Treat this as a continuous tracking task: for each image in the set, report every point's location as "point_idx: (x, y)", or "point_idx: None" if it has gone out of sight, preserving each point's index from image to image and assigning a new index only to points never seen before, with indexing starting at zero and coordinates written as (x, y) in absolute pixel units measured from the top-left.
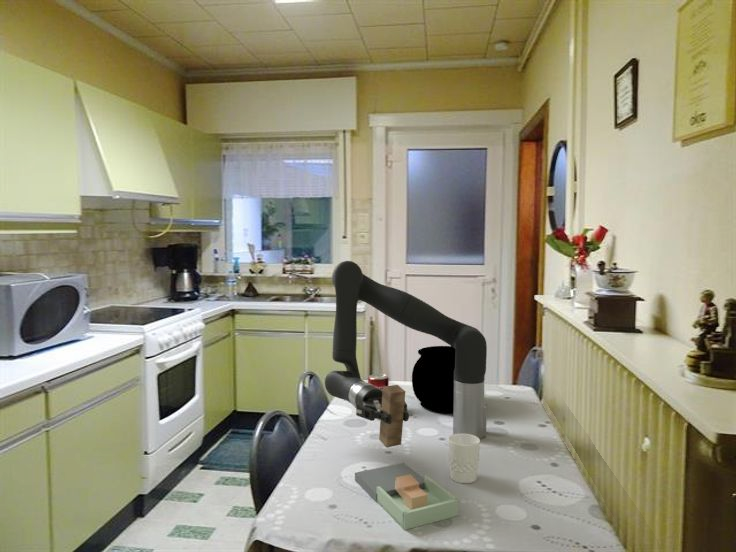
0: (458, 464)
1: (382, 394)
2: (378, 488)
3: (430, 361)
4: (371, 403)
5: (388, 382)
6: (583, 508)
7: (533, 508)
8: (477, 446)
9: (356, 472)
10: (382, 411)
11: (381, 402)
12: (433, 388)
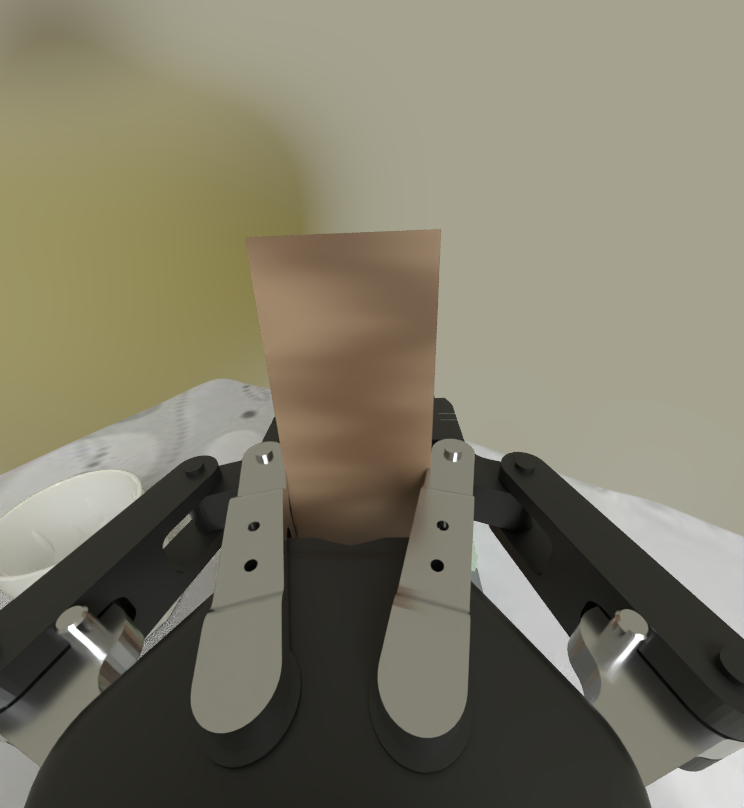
0: (166, 538)
1: (436, 328)
2: (473, 547)
3: None
4: (490, 703)
5: None
6: (139, 421)
7: (193, 442)
8: (93, 480)
9: None
10: (441, 433)
11: (317, 669)
12: None
